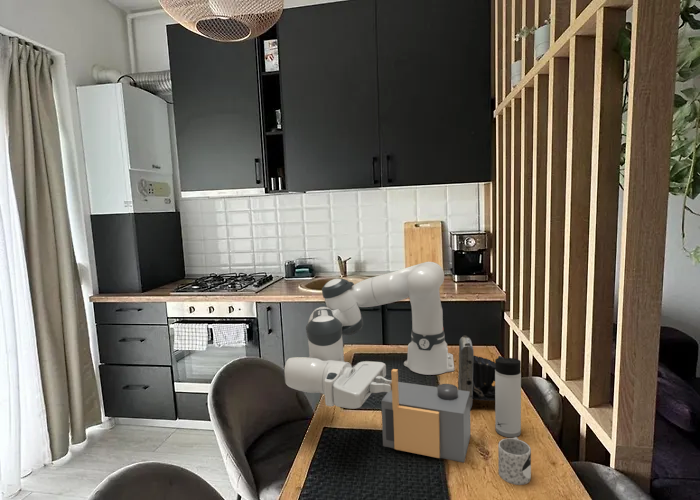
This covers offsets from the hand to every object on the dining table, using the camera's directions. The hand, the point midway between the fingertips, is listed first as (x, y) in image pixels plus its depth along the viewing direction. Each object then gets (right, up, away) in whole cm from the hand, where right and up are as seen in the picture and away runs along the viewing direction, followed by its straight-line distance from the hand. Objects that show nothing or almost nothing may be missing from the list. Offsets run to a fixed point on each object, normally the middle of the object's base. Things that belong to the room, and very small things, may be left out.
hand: (392, 386), depth 99 cm
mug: (+27, -17, -7) cm, 33 cm away
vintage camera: (+31, -13, +24) cm, 41 cm away
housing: (+10, -16, +6) cm, 20 cm away
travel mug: (+31, -15, +9) cm, 36 cm away
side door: (+6, -16, 0) cm, 17 cm away
